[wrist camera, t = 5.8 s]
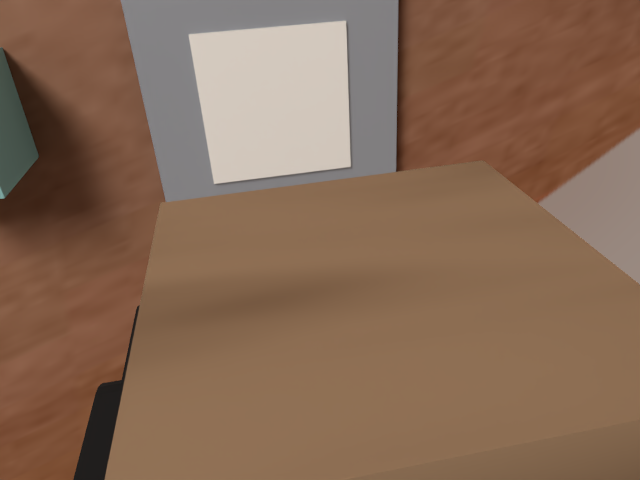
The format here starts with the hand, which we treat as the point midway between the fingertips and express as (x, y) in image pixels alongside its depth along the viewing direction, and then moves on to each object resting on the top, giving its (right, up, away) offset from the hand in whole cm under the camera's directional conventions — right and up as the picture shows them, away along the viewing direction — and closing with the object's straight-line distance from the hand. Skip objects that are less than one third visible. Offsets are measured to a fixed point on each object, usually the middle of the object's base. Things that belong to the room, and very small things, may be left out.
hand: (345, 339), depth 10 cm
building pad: (-3, +9, +16) cm, 18 cm away
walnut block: (0, 0, +1) cm, 1 cm away
